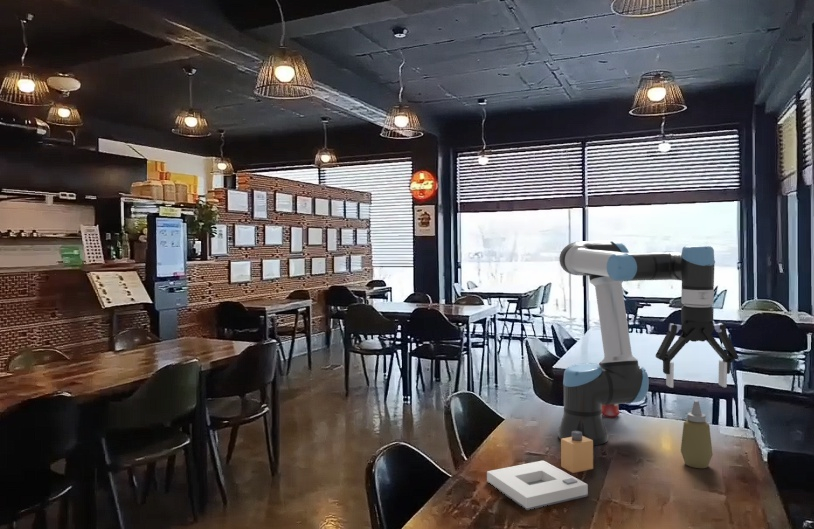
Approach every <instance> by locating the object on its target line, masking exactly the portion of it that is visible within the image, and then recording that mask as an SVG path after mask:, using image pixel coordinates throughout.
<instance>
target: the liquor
mask: <svg viewBox="0 0 814 529" xmlns="http://www.w3.org/2000/svg"><path fill="white" fill-rule="evenodd" d="M598 365H600V366H601V361H600V362H599V363H598ZM619 406H620V404H609V405H602V417H604V418H610V419H611V418H612V419H613V418H616V417H618V416H619V415H620V413H621V412H620V409H619Z"/></svg>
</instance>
